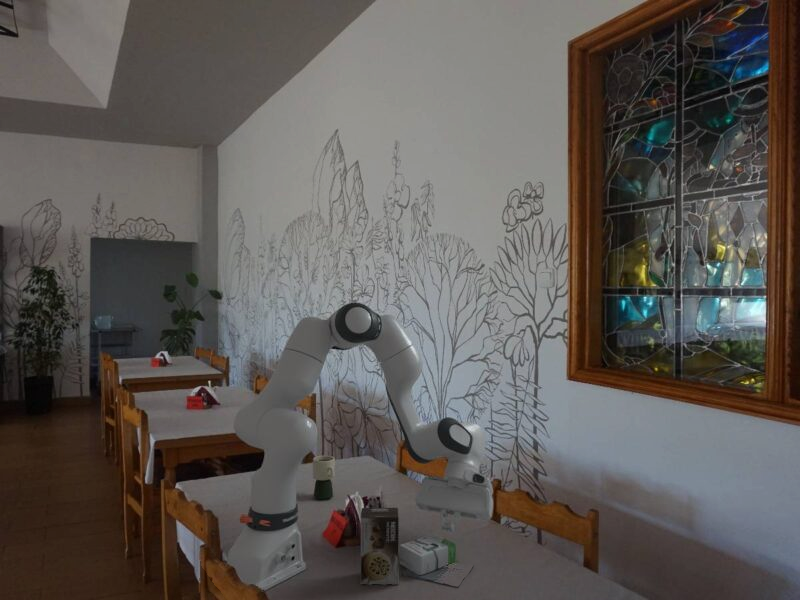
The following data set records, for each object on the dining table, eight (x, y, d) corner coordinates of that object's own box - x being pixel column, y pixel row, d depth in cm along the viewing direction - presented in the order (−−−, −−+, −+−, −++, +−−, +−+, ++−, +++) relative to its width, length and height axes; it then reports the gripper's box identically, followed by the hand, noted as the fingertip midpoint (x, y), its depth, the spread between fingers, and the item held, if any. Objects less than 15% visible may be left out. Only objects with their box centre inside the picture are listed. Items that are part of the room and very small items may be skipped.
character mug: (341, 500, 202) (342, 460, 202) (322, 505, 198) (323, 464, 197) (324, 491, 211) (324, 452, 210) (305, 495, 206) (306, 456, 206)
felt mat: (458, 587, 145) (458, 585, 145) (403, 575, 151) (403, 573, 151) (473, 566, 156) (473, 565, 156) (421, 555, 162) (421, 554, 162)
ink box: (456, 543, 157) (421, 556, 149) (456, 563, 157) (421, 576, 150) (433, 532, 164) (398, 544, 156) (433, 551, 164) (398, 564, 156)
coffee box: (397, 572, 152) (399, 507, 152) (398, 585, 146) (399, 517, 146) (360, 572, 152) (361, 506, 152) (359, 585, 146) (360, 516, 145)
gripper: (420, 468, 169) (405, 516, 161) (494, 479, 161) (483, 530, 152) (426, 480, 173) (412, 527, 165) (499, 491, 165) (487, 542, 156)
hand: (446, 529), depth 158 cm, fingers closed
